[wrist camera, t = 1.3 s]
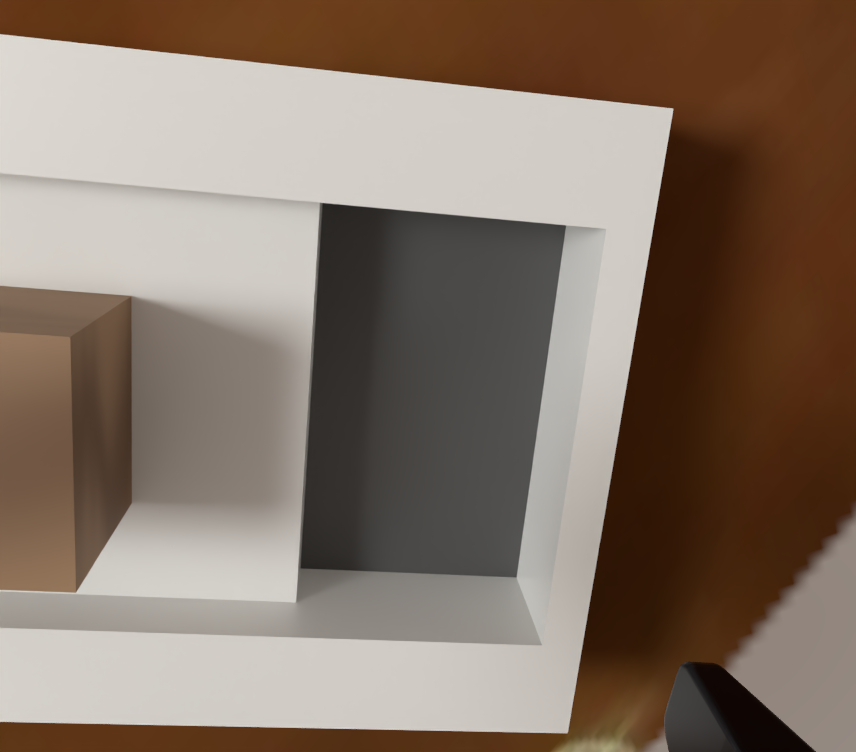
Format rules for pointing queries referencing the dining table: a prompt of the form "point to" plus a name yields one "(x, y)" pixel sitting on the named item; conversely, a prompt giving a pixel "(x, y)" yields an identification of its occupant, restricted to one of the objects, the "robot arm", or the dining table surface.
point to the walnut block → (62, 433)
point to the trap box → (331, 385)
